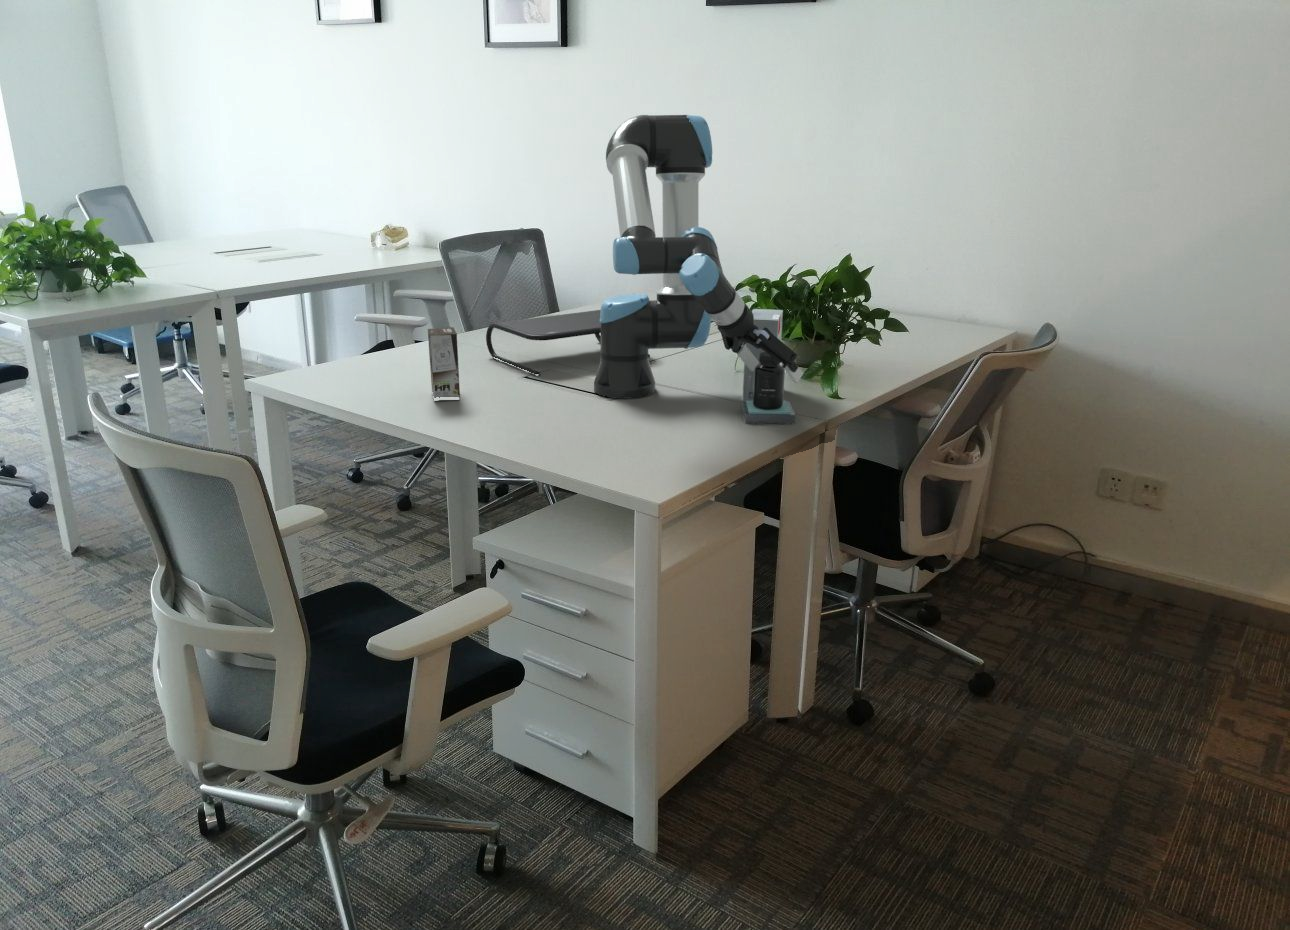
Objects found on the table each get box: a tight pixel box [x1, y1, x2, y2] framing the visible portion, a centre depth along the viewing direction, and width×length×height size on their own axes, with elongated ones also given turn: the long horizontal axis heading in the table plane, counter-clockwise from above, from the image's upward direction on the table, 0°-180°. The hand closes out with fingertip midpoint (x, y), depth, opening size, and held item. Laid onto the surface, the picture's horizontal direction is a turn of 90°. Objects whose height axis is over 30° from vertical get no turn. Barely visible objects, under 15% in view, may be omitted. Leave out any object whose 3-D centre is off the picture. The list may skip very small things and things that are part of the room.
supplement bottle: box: [753, 352, 786, 409], centre depth 230 cm, size 7×7×12 cm
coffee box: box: [427, 326, 461, 399], centre depth 246 cm, size 9×6×16 cm
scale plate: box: [745, 400, 791, 414], centre depth 232 cm, size 9×9×1 cm
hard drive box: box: [742, 308, 784, 402], centre depth 247 cm, size 16×8×20 cm, turn 168°
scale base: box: [741, 401, 796, 425], centre depth 232 cm, size 11×11×2 cm
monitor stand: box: [485, 309, 651, 374], centre depth 287 cm, size 37×28×11 cm
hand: (776, 372), depth 231 cm, fingers open, 13 cm apart
